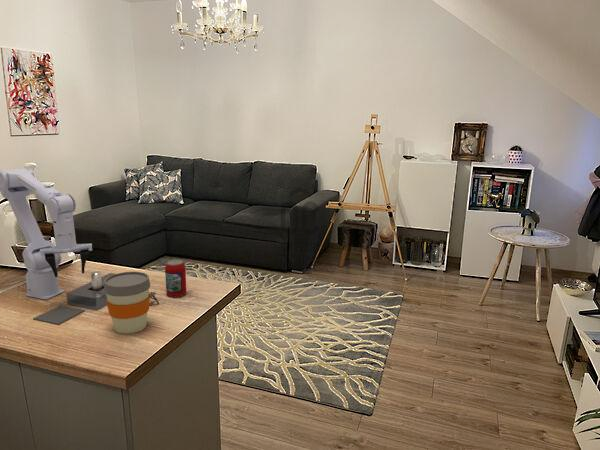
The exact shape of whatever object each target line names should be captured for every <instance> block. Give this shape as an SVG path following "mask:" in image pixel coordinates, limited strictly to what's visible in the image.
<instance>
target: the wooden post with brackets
mask: <svg viewBox="0 0 600 450" xmlns="http://www.w3.org/2000/svg"><path fill="white" fill-rule="evenodd" d="M149 293H150V299H152V300H154V301H152V300H151V301H150V303H149V307H150V306H153V305H154V303H157V304H159V303H160V302H159V301H158V299H157V297H156V295H157V291H153V292H149Z"/></svg>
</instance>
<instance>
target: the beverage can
mask: <svg viewBox="0 0 600 450" xmlns="http://www.w3.org/2000/svg"><path fill="white" fill-rule="evenodd" d="M186 270H187V269H186V264H185V263H184V260H182V259H177V258H176V259H169V260H168V261H167V262H166V265H165V267H164V271H165V273H164V274H165V290H166V291H165V292H166V295H167V296H169V297H170V298H180V297H182V296H184V295H185V294H186V293H187V273H186Z"/></svg>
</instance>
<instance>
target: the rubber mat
mask: <svg viewBox="0 0 600 450" xmlns="http://www.w3.org/2000/svg"><path fill="white" fill-rule="evenodd" d="M84 312H86V310H84V309H81V308H80V309H79V308H77V307H76V308H75V307H70V306H65V305H61V304H60V305H57V306H55V307H54V308H51V309H49V310H47V311H45V312H43V313H41V314H39V315H37V316H35V317H33V318H32V319H33V320H34V321H39V322H43V323H48V324H52V325H57V326H60V325H61V324H64V323H65V322H67V321H70V320H72V319H73V318H76V316H79V315H81V314H83V313H84Z"/></svg>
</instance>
